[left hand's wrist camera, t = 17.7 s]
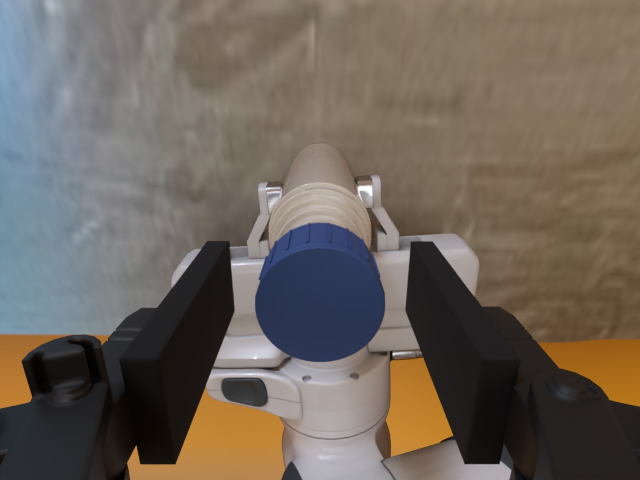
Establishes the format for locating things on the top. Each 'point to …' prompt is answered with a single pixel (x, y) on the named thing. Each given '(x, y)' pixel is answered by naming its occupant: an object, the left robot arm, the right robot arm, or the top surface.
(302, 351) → the cap
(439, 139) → the top surface
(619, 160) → the top surface
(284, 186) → the bottle
